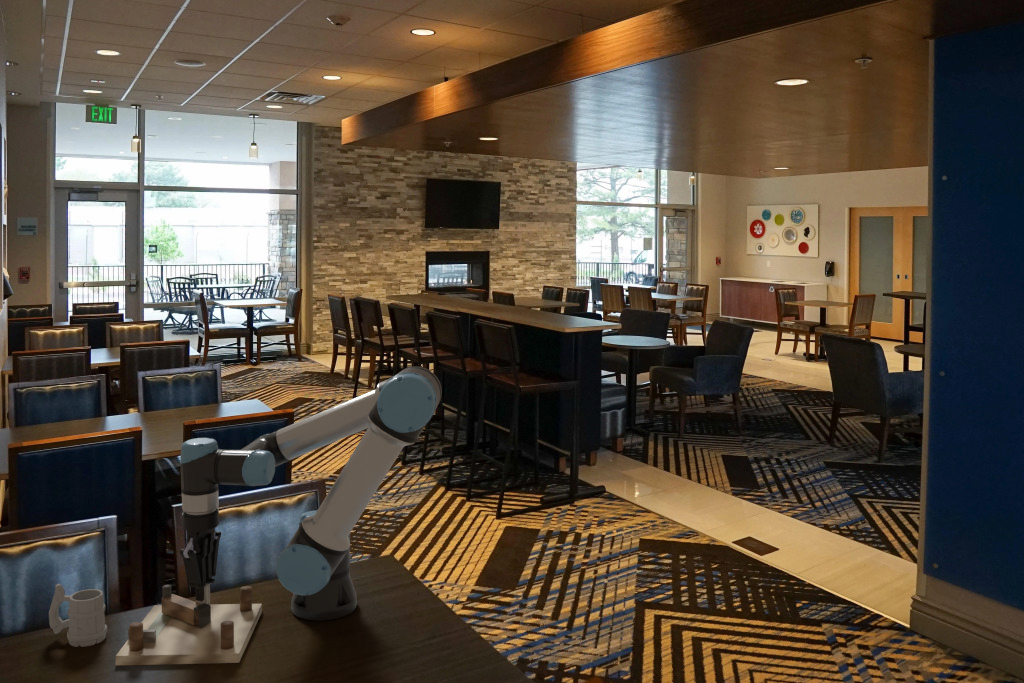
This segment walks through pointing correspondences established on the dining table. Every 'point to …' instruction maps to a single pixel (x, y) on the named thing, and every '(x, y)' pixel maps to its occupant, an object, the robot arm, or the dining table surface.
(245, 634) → the stool seat
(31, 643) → the dining table surface
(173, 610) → the brown piece
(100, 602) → the mug
